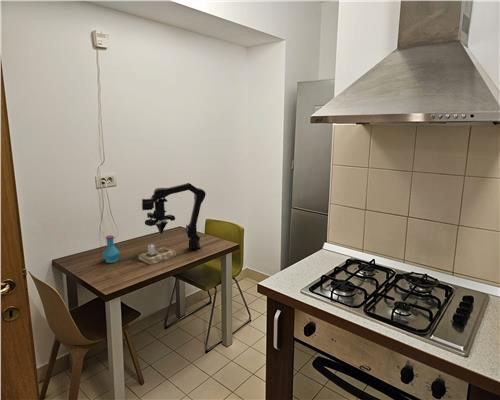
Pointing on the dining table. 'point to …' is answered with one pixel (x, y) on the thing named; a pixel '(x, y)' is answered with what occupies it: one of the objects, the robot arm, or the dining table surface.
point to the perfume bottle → (110, 250)
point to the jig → (157, 255)
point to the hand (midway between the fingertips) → (161, 233)
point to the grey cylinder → (151, 250)
